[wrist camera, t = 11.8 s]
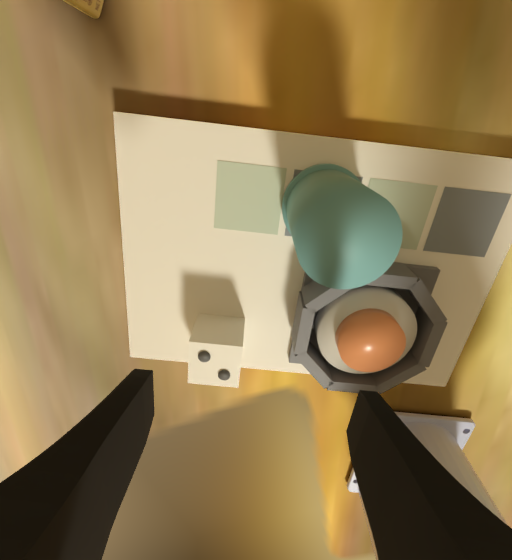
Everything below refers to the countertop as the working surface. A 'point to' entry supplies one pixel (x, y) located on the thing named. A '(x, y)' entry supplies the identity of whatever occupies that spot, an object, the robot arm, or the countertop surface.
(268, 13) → the countertop surface
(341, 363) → the dome button
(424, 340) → the game board
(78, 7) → the candy box
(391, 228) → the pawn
